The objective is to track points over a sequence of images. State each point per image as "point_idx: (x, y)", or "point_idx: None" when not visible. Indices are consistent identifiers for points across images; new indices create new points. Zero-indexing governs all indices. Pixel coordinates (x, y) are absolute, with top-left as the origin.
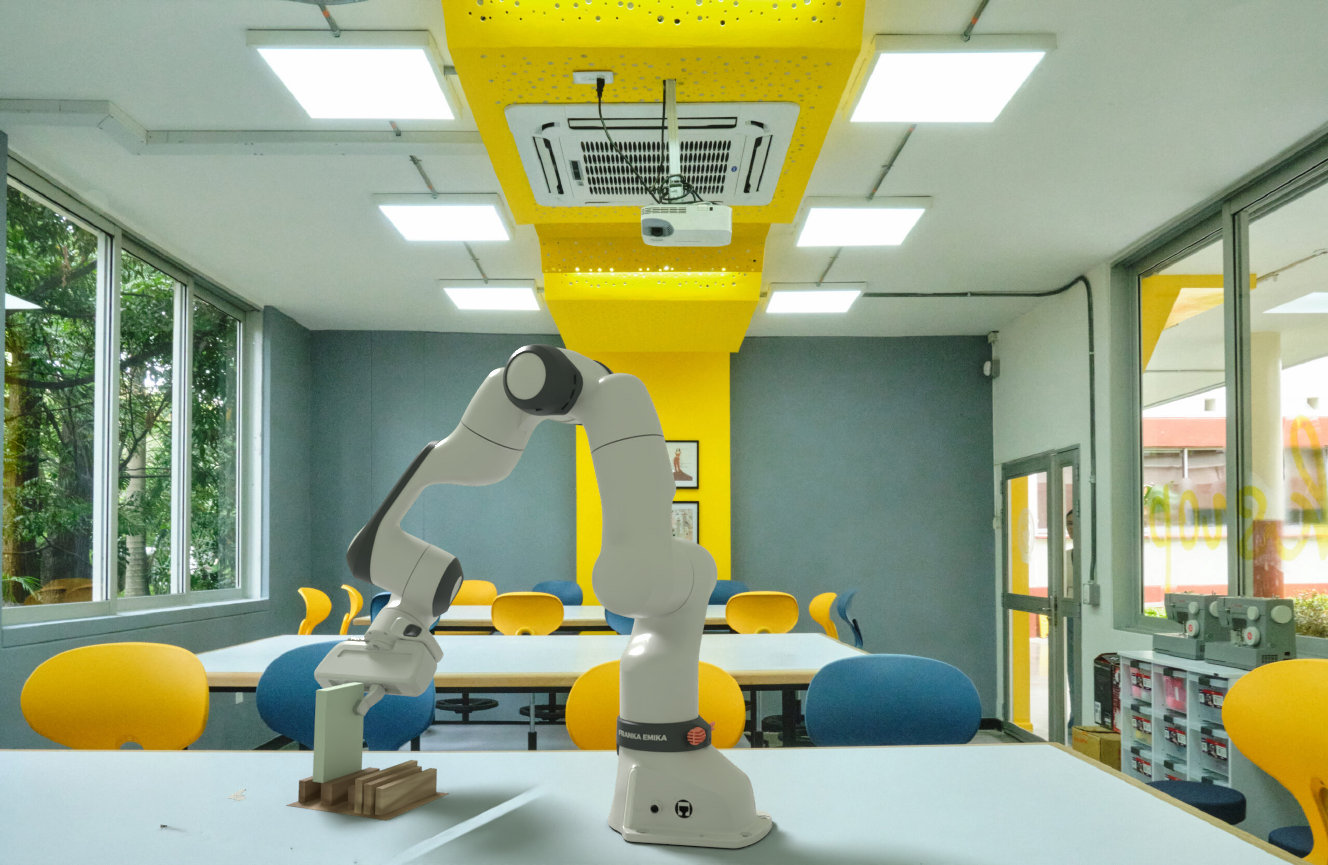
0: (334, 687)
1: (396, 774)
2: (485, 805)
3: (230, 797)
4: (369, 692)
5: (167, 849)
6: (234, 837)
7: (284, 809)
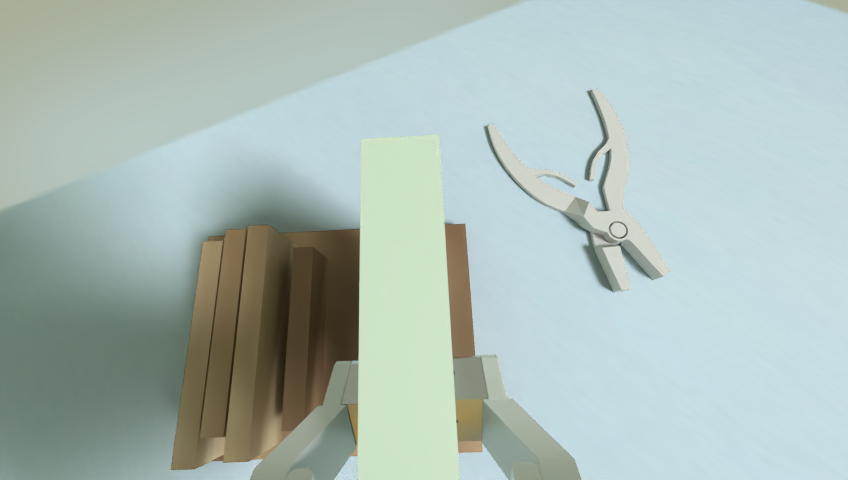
0: (412, 246)
1: (221, 331)
2: (94, 468)
3: (623, 215)
4: (301, 451)
5: (477, 38)
6: (433, 108)
7: (493, 250)
